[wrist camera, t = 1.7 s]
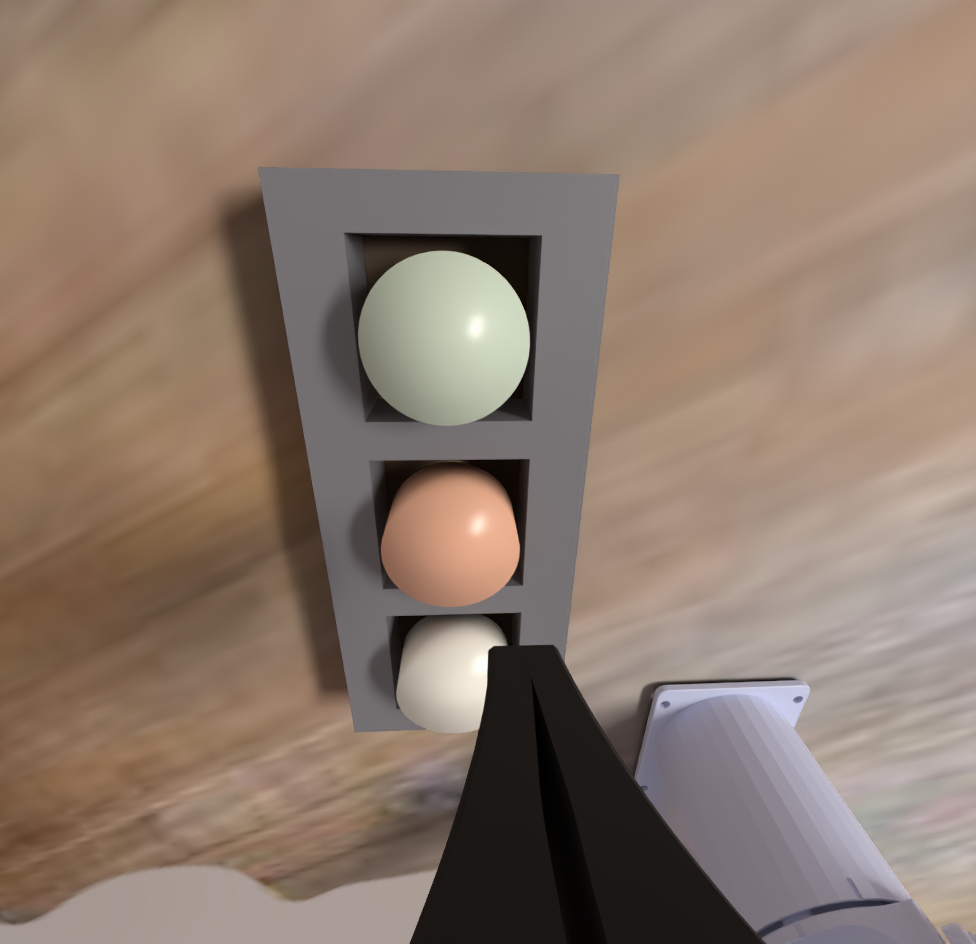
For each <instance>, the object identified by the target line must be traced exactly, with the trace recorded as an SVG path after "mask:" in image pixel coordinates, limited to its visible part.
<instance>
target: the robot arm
mask: <svg viewBox="0 0 976 944" xmlns="http://www.w3.org/2000/svg"><path fill="white" fill-rule="evenodd" d="M809 692H810V688H809V686H808V685H807V684H806V683H805V682H804V681H801V680H789V681H761V682H734V683H706V684H678V685H662V686H660V687H658V688H657V689H656V690H655V692H654V697H653V701H652V705H651V709H650V713H649V718H648V722H647V726H646V730H645V734H644V738H643V743H642V747H641V751H640V755H639V759H638V764H637V768H636V772H635V776H634V777H633V775H632V774H631V773H630V771H629V770H628V768H627V767H626V765H625V764H624V762H623V761H622V759H621V758H620V756H619V755H618V753H617V752H616V750H615V748H614V747H613V745H612V744H611V742H610V741H609V739H608V737H607V736H606V734H605V733H604V731H603V729H602V728H601V726H600V725H599V723H598V722H597V720H596V718H595V717H594V715H593V713H592V712H591V710H590V708H589V707H588V705H587V703H586V701H585V700H584V698H583V696H582V694H581V693H580V691H579V689H578V687H577V685H576V684H575V682H574V680H573V678H572V676H571V674H570V672H569V671H568V669H567V667H566V665H565V663H564V661H563V659H562V657H561V654H560V652H559V650H558V648H556V647H555V646H554V645H515V646H493V647H492V648H490V649H489V650H488V669H487V689H486V695H485V702H484V708H483V713H482V718H481V722H480V727H479V731H478V736H477V740H476V745H475V749H474V753H473V757H472V761H471V764H470V768H469V772H468V775H467V779H466V782H465V786H464V789H463V793H462V796H461V800H460V803H459V807H458V810H457V813H456V816H455V819H454V822H453V826H452V829H451V832H450V835H449V838H448V841H447V844H446V847H445V849H444V852H443V855H442V858H441V861H440V864H439V867H438V870H437V872H436V876H435V878H434V881H433V884H432V886H431V889H430V891H429V894H428V897H427V899H426V903H425V905H424V908H423V910H422V913H421V915H420V918H419V921H418V924H417V926H416V929H415V931H414V934H413V936H412V939H411V941H410V944H947V943H946V942H945V940H944V939H943V937H942V936H941V935H940V933H939V932H938V931H937V929H936V928H935V927H934V926H933V924H932V923H931V922H930V920H929V919H928V918H927V916H926V915H925V914H924V912H923V911H922V910H921V908H920V907H919V906H918V904H917V903H916V902H915V900H912V898H911V897H910V895H909V894H908V893H907V891H906V890H905V888H904V887H903V885H902V884H901V882H900V881H899V880H898V878H897V877H896V875H895V874H894V872H893V871H892V870H891V868H890V867H889V865H888V864H887V862H886V861H885V859H884V858H883V857H882V855H881V854H880V852H879V851H878V849H877V848H876V846H875V845H874V844H873V842H872V841H871V839H870V838H869V836H868V835H867V833H866V832H865V831H864V829H863V828H862V826H861V825H860V823H859V822H858V821H857V819H856V818H855V816H854V815H853V813H852V812H851V810H850V809H849V808H848V806H847V805H846V803H845V802H844V800H843V799H842V797H841V796H840V795H839V793H838V792H837V790H836V789H835V787H834V786H833V784H832V783H831V782H830V780H829V779H828V777H827V776H826V774H825V773H824V772H823V770H822V769H821V767H820V766H819V764H818V763H817V761H816V760H815V759H814V757H813V756H812V754H811V753H810V751H809V750H808V748H807V747H806V746H805V744H804V743H803V741H802V740H801V738H800V737H799V736H798V734H797V733H796V731H795V730H794V726H795V724H796V722H797V719H798V717H799V715H800V713H801V710H802V708H803V706H804V704H805V701H806V699H807V697H808V695H809ZM941 929H942V931H943V932H944V934H945V935H946V937H947V938H948V940H949V941H950V942H951V944H976V935H975V934H973V933H971V932H968V933H967V932H966V931H965V930H964V928H963V927H962V926H960V925H959V924H957V923H951V924H948V925H946V926H943V927H941Z"/></svg>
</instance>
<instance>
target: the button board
mask: <svg viewBox="0 0 976 944" xmlns="http://www.w3.org/2000/svg"><path fill="white" fill-rule="evenodd" d="M258 171H259V176H260V182H261V188H262V194H263V200H264V205H265V211H266V217H267V223H268V229H269V235H270V240H271V246H272V252H273V258H274V264H275V269H276V275H277V281H278V287H279V293H280V299H281V304H282V310H283V316H284V322H285V328H286V334H287V339H288V345H289V351H290V357H291V363H292V368H293V374H294V380H295V386H296V392H297V398H298V403H299V409H300V415H301V421H302V427H303V433H304V438H305V444H306V450H307V456H308V462H309V467H310V473H311V479H312V485H313V491H314V497H315V502H316V508H317V514H318V520H319V526H320V531H321V537H322V543H323V549H324V555H325V561H326V566H327V572H328V578H329V584H330V590H331V596H332V601H333V607H334V613H335V619H336V625H337V630H338V636H339V642H340V648H341V654H342V660H343V665H344V671H345V677H346V683H347V689H348V694H349V700H350V706H351V712H352V718H353V724H354V729H355V732H375V731H400V730H425V728H423V727H421V726H419V725H417V724H415V723H414V722H412V721H411V720H410V719H408V718H407V717H406V716H405V715H404V713H403V712H402V711H401V709H400V707H399V705H398V702H397V697H396V692H397V685H398V678H399V671H400V665H401V658H402V649H401V638H400V628H399V617H398V616H412V615H449V614H485V613H513V626H512V646H515V645H554V646H555V647H556V648H558V650H559V652H560V654H561V657H562V659H563V661H565V652H566V643H567V634H568V626H569V617H570V608H571V599H572V590H573V582H574V573H575V564H576V555H577V546H578V537H579V529H580V520H581V511H582V502H583V493H584V485H585V476H586V467H587V458H588V449H589V441H590V432H591V423H592V414H593V405H594V397H595V388H596V379H597V370H598V361H599V353H600V344H601V335H602V326H603V317H604V308H605V300H606V291H607V282H608V273H609V264H610V256H611V247H612V238H613V229H614V220H615V212H616V203H617V194H618V185H619V176H620V175H617V174H569V173H521V172H473V171H425V170H377V169H329V168H281V167H258ZM362 235H372V236H445V237H518V238H530V245H529V267H528V290H527V312H526V317H527V321H528V326H529V333H530V349H529V357H528V361H527V365H526V369H525V371H524V379H523V398H508V399H507V400H506V401H505V402H504V403H503V404H502V405H501V406H500V407H499V408H498V409H496V410H495V411H493V412H492V413H490V414H489V415H487V416H485V417H483V418H481V419H479V420H476V421H473V422H470V423H467V424H462V425H454V426H438V425H432V424H426V423H423V422H420V421H417V420H414V419H412V418H410V417H408V416H406V415H404V414H402V413H401V412H399V411H398V410H396V409H395V408H394V407H392V406H391V405H390V404H389V403H388V402H387V401H386V400H385V399H378V395H377V390H376V389H375V388H374V386H373V384H372V383H371V381H370V379H369V378H368V375H367V373H366V371H365V369H364V366H363V363H362V360H361V356H360V350H359V342H358V329H359V320H360V316H361V312H362V308H363V306H364V303H365V300H366V298H367V296H368V290H367V279H366V268H365V258H364V247H363V237H362ZM479 459H520V469H519V491H518V514H517V534H518V539H519V545H520V554H519V560H518V564H517V567H516V569H515V571H514V574H513V575H512V577H511V578H510V580H509V581H508V582H507V583H506V585H505V586H504V587H502V588H501V589H500V590H499V591H498V592H497V593H495V594H494V595H492V596H490V597H489V598H487V599H485V600H483V601H480V602H478V603H474V604H471V605H466V606H461V607H440V606H434V605H430V604H426V603H423V602H420V601H418V600H416V599H414V598H412V597H410V596H409V595H407V594H405V593H404V592H403V591H402V590H400V589H399V588H398V587H397V586H396V585H395V584H394V583H393V581H392V580H391V579H390V577H389V576H388V574H387V572H386V570H385V568H384V565H383V562H382V557H381V544H382V538H383V534H384V531H385V527H386V524H387V520H388V516H389V511H388V501H387V490H386V480H385V469H384V461H385V460H479Z"/></svg>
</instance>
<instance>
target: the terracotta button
mask: <svg viewBox="0 0 976 944" xmlns="http://www.w3.org/2000/svg"><path fill="white" fill-rule="evenodd" d="M519 554H520V545H519V539H518V534H517V529H516V524H515V519H514V514H513V509H512V504H511V500H510V498H509V495H508V493H507V492H506V490H505V488H504V487H503V486H502V484H501V483H500V482H499V481H498V480H497V479H496V478H495V477H493V476H492V475H491V474H490V473H488V472H486V471H485V470H483V469H481V468H478V467H476V466H473V465H469V464H465V463H458V462H446V463H439V464H434V465H431V466H427V467H425V468H423V469H421V470H419V471H417V472H415V473H414V474H412V475H411V476H410V477H409V478H407V479H406V480H405V481H404V483H403V484H402V485H401V486H400V488H399V489H398V491H397V492H396V494H395V496H394V499H393V502H392V506H391V509H390V513H389V516H388V520H387V524H386V527H385V531H384V534H383V538H382V544H381V557H382V562H383V565H384V568H385V570H386V572H387V574H388V576H389V577H390V579H391V580H392V581H393V583H394V584H395V585H396V586H397V587H398V588H399V589H400V590H402V591H403V592H404V593H405V594H407V595H409V596H410V597H412V598H414V599H416V600H418V601H420V602H423V603H426V604H430V605H434V606H440V607H461V606H466V605H471V604H474V603H478V602H480V601H483V600H485V599H487V598H489V597H490V596H492V595H494V594H495V593H497V592H498V591H499V590H500V589H501V588H502V587H504V586H505V585H506V583H507V582H508V581H509V580H510V578H511V577H512V575H513V574H514V571H515V569H516V567H517V564H518V560H519Z"/></svg>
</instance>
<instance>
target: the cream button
mask: <svg viewBox="0 0 976 944" xmlns="http://www.w3.org/2000/svg"><path fill="white" fill-rule="evenodd" d="M493 646H508V644H507V639H506V637H505V634H504V632H503V631H502V629H501V628H500V627H499V626H498V625H497V624H496V623H495V622H494V621H493V620H491V619H490V618H488V617H486V616H484V615H482V614H449V615H429V616H427V617H425V618H423V619H421V620H420V621H419V622H417V623H416V624H415V625H414V626H413V627H412V628H411V629H410V631H409V632H408V634H407V635H406V638H405V640H404V645H403V651H402V658H401V665H400V671H399V678H398V685H397V692H396V697H397V702H398V705H399V707H400V709H401V711H402V712H403V713H404V715H405V716H406V717H407V718H408V719H410V720H411V721H412V722H414V723H415V724H417V725H419V726H421V727H423V728H425V729H428V730H432V731H435V732H441V733H465V732H470V731H474V730H478V729H479V727H480V722H481V718H482V713H483V708H484V702H485V695H486V689H487V669H488V650H489V649H490V648H492V647H493Z"/></svg>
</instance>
